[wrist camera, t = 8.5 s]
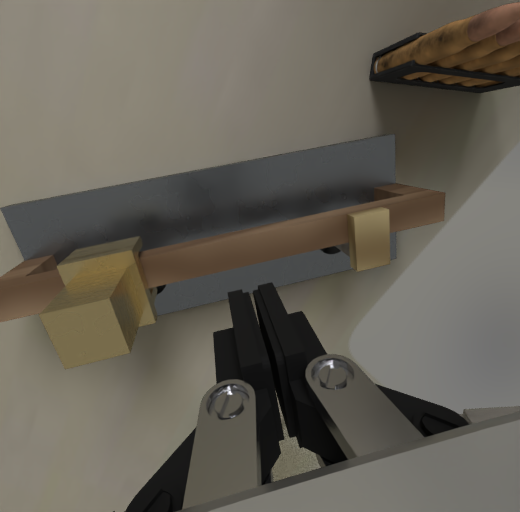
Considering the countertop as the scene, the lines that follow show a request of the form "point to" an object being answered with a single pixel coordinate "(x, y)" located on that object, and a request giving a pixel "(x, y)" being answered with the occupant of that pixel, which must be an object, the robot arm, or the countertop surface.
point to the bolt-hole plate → (214, 214)
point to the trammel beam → (250, 247)
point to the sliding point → (99, 303)
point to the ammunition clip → (457, 54)
